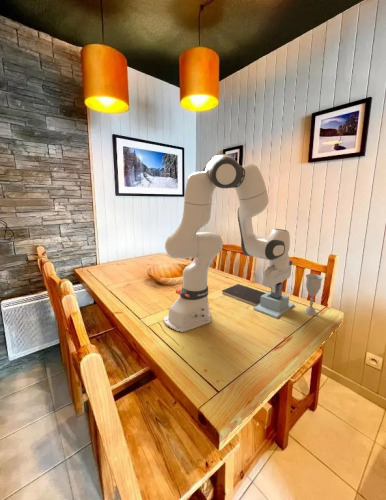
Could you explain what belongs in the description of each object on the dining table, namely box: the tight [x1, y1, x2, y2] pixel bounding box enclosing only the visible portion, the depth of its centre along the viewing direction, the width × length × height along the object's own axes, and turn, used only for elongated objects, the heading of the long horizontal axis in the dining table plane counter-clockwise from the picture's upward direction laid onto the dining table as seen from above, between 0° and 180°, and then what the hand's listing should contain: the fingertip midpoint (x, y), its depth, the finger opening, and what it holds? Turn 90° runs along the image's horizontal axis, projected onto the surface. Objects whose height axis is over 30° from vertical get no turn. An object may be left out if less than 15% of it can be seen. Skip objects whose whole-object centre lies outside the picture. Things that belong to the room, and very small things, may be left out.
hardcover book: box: [221, 283, 267, 307], centre depth 127 cm, size 16×23×2 cm
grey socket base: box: [253, 290, 295, 319], centre depth 111 cm, size 18×12×6 cm, turn 133°
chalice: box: [304, 273, 324, 316], centre depth 105 cm, size 7×7×18 cm
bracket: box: [270, 282, 284, 300], centre depth 110 cm, size 3×6×8 cm, turn 42°
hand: (276, 290), depth 109 cm, fingers closed on bracket, 3 cm apart
